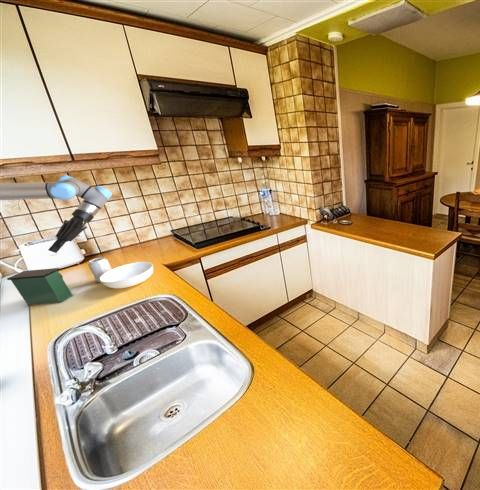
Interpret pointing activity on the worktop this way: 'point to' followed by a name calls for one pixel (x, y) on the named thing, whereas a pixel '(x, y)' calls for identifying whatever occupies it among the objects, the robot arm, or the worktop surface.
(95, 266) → the can
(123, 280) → the serving bowl
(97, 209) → the robot arm
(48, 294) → the box
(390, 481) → the worktop surface
